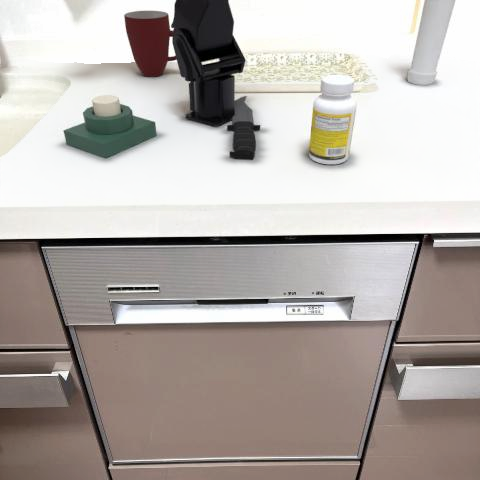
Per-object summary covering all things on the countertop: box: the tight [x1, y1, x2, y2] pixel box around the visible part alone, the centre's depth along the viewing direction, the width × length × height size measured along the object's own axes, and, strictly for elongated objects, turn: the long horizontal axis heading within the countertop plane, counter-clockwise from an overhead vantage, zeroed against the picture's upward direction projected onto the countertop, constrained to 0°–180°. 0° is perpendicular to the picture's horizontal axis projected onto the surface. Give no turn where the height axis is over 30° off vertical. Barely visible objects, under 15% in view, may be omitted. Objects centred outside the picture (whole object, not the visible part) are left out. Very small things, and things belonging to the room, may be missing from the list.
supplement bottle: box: [308, 74, 357, 165], centre depth 61 cm, size 5×5×10 cm
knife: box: [226, 95, 261, 161], centre depth 72 cm, size 25×2×5 cm
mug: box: [123, 10, 177, 78], centre depth 89 cm, size 11×8×10 cm
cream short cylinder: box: [91, 94, 121, 117], centre depth 65 cm, size 4×4×2 cm
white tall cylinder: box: [406, 0, 456, 86], centre depth 82 cm, size 5×5×25 cm
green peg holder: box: [63, 103, 158, 159], centre depth 67 cm, size 8×10×4 cm
